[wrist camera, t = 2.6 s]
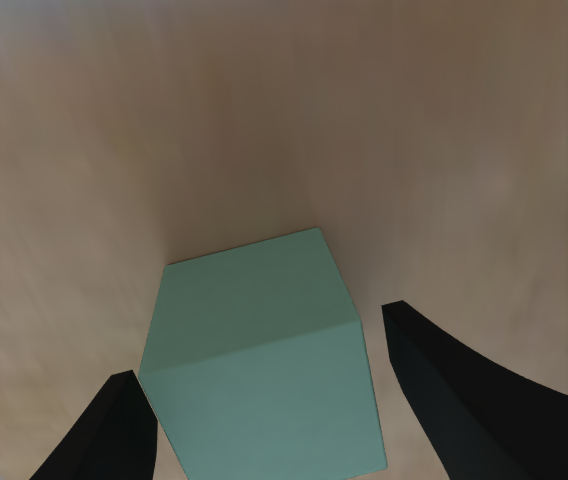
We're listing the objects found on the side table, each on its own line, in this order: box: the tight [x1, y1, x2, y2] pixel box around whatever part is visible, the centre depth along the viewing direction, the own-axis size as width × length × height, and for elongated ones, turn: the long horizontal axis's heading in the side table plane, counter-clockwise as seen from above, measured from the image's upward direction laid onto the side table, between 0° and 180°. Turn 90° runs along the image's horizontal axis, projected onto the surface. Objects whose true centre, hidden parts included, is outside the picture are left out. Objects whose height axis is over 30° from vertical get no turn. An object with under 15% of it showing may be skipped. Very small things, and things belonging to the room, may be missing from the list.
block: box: [138, 227, 388, 480], centre depth 13 cm, size 5×5×5 cm
